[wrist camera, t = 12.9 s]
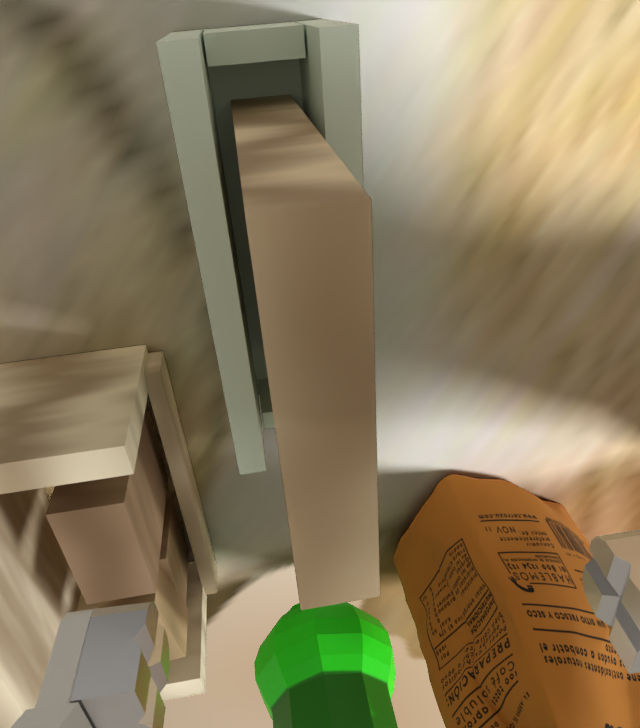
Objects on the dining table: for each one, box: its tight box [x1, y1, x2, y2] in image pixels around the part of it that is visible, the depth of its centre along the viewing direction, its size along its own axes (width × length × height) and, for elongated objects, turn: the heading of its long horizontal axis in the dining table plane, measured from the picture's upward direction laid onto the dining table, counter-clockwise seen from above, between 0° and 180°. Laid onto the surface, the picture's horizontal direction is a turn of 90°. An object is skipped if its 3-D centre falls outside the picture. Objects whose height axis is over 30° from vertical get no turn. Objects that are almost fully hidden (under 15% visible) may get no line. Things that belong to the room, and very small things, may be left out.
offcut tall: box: [46, 403, 168, 604], centre depth 29 cm, size 3×6×8 cm, turn 4°
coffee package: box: [393, 474, 640, 728], centre depth 32 cm, size 10×12×22 cm
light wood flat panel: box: [231, 94, 380, 610], centre depth 20 cm, size 2×12×15 cm, turn 4°
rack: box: [0, 345, 217, 728], centre depth 30 cm, size 10×18×10 cm, turn 4°
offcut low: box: [159, 492, 189, 605], centre depth 34 cm, size 3×5×5 cm, turn 4°
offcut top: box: [98, 563, 188, 661], centre depth 31 cm, size 3×4×3 cm
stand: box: [156, 19, 363, 475], centre depth 24 cm, size 6×17×7 cm, turn 4°
